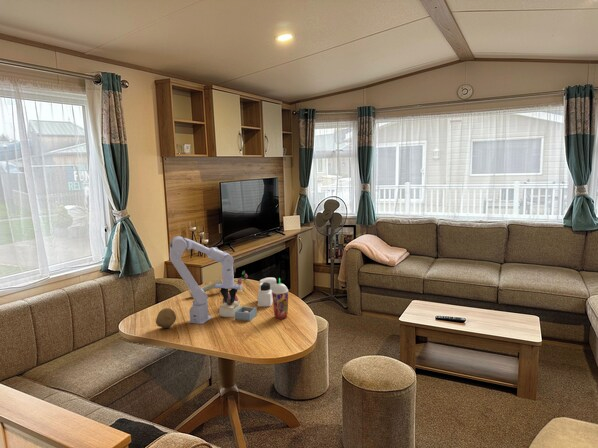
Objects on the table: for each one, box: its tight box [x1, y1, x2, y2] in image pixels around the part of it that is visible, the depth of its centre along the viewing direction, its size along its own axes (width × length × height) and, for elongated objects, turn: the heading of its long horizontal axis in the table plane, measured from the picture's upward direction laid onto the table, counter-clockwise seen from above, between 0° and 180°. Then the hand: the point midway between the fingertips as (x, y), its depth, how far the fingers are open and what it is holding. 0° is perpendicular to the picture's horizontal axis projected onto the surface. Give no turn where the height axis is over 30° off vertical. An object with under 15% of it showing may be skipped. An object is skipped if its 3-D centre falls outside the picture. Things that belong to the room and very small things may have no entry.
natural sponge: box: [155, 307, 177, 329], centre depth 194 cm, size 9×9×10 cm
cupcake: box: [222, 292, 239, 304], centre depth 219 cm, size 9×8×12 cm
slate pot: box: [234, 306, 258, 322], centre depth 205 cm, size 8×8×4 cm
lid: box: [219, 298, 240, 310], centre depth 210 cm, size 7×7×4 cm
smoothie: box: [272, 277, 289, 320], centre depth 203 cm, size 8×8×20 cm
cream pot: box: [218, 304, 242, 319], centre depth 210 cm, size 8×8×4 cm
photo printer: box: [258, 277, 278, 290], centre depth 232 cm, size 10×4×12 cm, turn 117°
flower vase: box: [188, 270, 248, 299], centre depth 245 cm, size 12×12×35 cm
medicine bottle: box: [256, 282, 273, 307], centre depth 223 cm, size 7×7×12 cm
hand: (229, 302), depth 210 cm, fingers open, 3 cm apart
